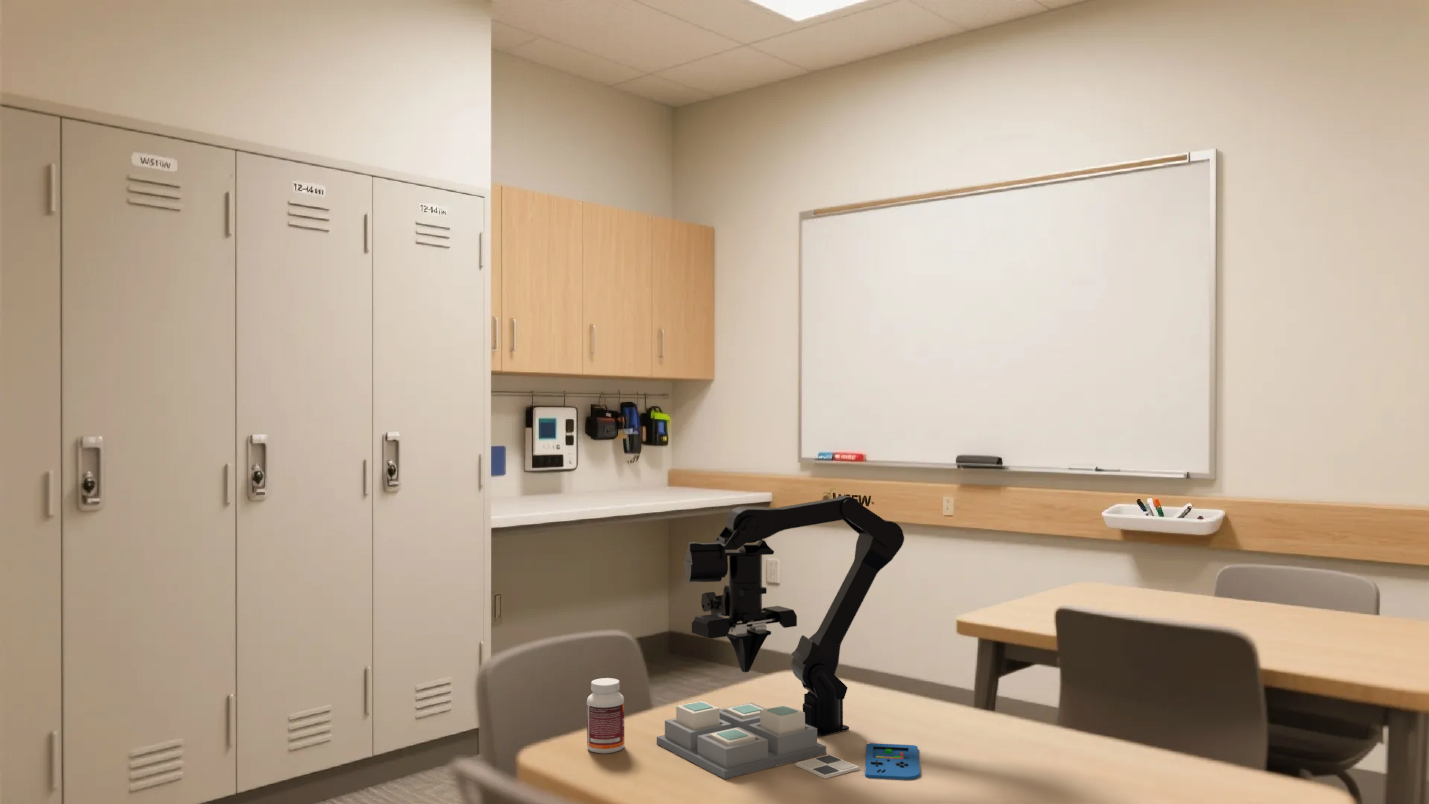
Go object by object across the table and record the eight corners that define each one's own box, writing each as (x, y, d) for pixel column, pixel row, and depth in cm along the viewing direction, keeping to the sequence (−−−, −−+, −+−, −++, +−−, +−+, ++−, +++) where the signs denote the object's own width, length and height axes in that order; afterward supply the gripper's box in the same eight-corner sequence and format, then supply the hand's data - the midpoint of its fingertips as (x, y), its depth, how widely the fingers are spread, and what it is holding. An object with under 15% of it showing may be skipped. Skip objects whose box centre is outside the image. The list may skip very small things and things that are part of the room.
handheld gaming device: (865, 772, 152) (866, 741, 167) (865, 780, 152) (866, 747, 167) (920, 775, 151) (917, 743, 166) (920, 783, 151) (917, 750, 166)
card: (829, 756, 162) (829, 753, 162) (859, 769, 156) (859, 766, 156) (795, 765, 158) (795, 762, 158) (824, 778, 152) (824, 775, 152)
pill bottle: (631, 750, 166) (631, 682, 166) (597, 757, 162) (597, 688, 162) (613, 740, 171) (613, 674, 171) (580, 746, 167) (580, 680, 167)
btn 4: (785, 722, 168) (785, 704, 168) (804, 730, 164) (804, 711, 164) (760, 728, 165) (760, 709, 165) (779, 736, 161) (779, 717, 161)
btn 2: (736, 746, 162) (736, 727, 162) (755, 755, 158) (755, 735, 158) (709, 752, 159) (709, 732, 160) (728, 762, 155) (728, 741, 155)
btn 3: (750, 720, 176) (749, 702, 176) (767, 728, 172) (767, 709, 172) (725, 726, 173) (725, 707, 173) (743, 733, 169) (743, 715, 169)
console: (753, 723, 180) (752, 700, 180) (826, 753, 163) (825, 728, 163) (656, 743, 168) (656, 719, 168) (724, 779, 152) (724, 752, 152)
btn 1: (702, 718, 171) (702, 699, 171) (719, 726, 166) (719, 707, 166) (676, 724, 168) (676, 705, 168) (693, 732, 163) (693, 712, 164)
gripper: (760, 570, 185) (760, 655, 185) (674, 579, 174) (674, 669, 174) (799, 578, 176) (798, 668, 175) (710, 588, 165) (710, 683, 165)
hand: (745, 671), depth 173 cm, fingers closed
